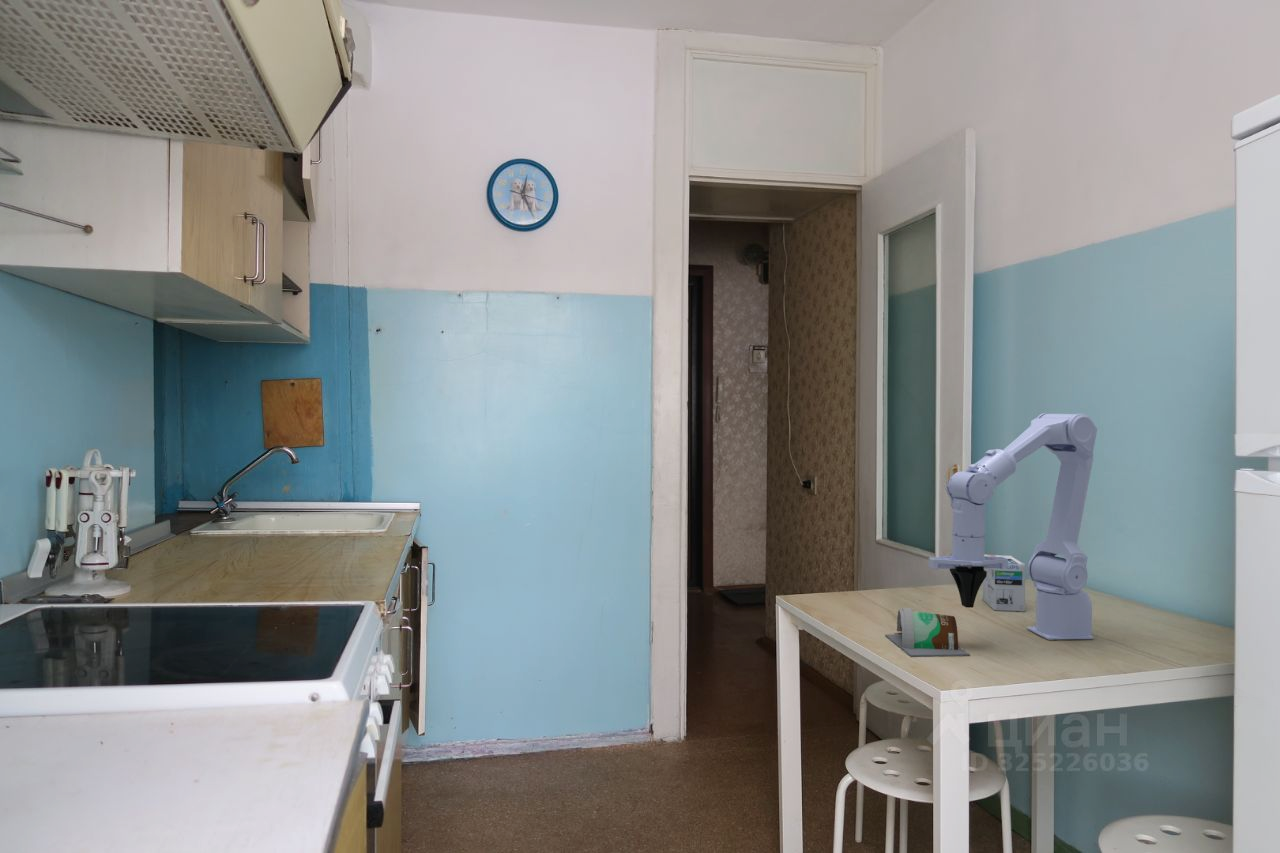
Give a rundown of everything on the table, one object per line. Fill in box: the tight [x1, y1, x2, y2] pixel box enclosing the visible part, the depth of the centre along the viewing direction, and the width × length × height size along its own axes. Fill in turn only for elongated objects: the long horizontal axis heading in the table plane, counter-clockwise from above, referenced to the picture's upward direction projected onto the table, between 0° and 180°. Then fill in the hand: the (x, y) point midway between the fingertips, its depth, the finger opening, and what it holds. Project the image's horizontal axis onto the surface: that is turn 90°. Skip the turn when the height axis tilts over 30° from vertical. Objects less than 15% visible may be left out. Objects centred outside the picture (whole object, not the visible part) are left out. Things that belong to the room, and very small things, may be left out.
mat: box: [884, 633, 971, 658], centre depth 154 cm, size 11×13×1 cm
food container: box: [896, 607, 959, 650], centre depth 156 cm, size 12×6×10 cm
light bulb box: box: [982, 554, 1026, 613], centre depth 184 cm, size 11×7×11 cm, turn 171°
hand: (967, 606), depth 154 cm, fingers closed
